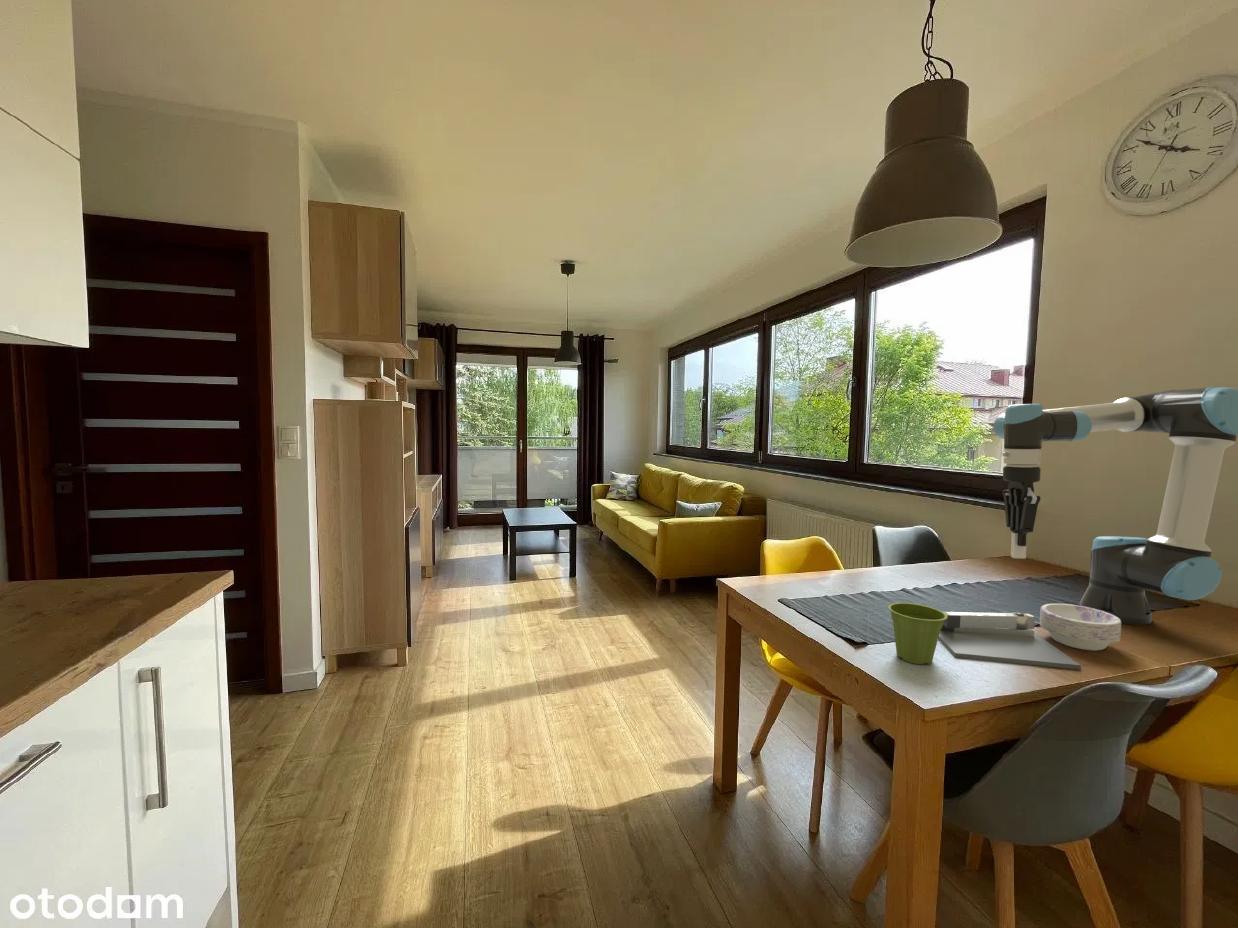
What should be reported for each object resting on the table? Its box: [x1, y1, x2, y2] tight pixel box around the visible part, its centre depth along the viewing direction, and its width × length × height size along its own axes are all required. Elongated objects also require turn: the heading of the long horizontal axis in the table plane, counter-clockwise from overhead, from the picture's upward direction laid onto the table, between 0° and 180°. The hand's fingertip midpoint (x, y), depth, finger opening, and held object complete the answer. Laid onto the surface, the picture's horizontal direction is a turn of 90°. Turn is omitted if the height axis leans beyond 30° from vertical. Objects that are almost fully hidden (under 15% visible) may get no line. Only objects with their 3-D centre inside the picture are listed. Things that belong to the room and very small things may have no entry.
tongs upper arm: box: [941, 610, 1036, 630], centre depth 134 cm, size 22×4×4 cm, turn 89°
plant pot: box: [888, 602, 947, 665], centre depth 121 cm, size 12×12×11 cm
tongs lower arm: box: [940, 626, 1035, 637], centre depth 135 cm, size 22×3×2 cm, turn 81°
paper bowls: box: [1039, 603, 1122, 651], centre depth 131 cm, size 15×15×8 cm
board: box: [938, 631, 1082, 670], centre depth 130 cm, size 25×21×1 cm
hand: (1018, 557), depth 134 cm, fingers closed
